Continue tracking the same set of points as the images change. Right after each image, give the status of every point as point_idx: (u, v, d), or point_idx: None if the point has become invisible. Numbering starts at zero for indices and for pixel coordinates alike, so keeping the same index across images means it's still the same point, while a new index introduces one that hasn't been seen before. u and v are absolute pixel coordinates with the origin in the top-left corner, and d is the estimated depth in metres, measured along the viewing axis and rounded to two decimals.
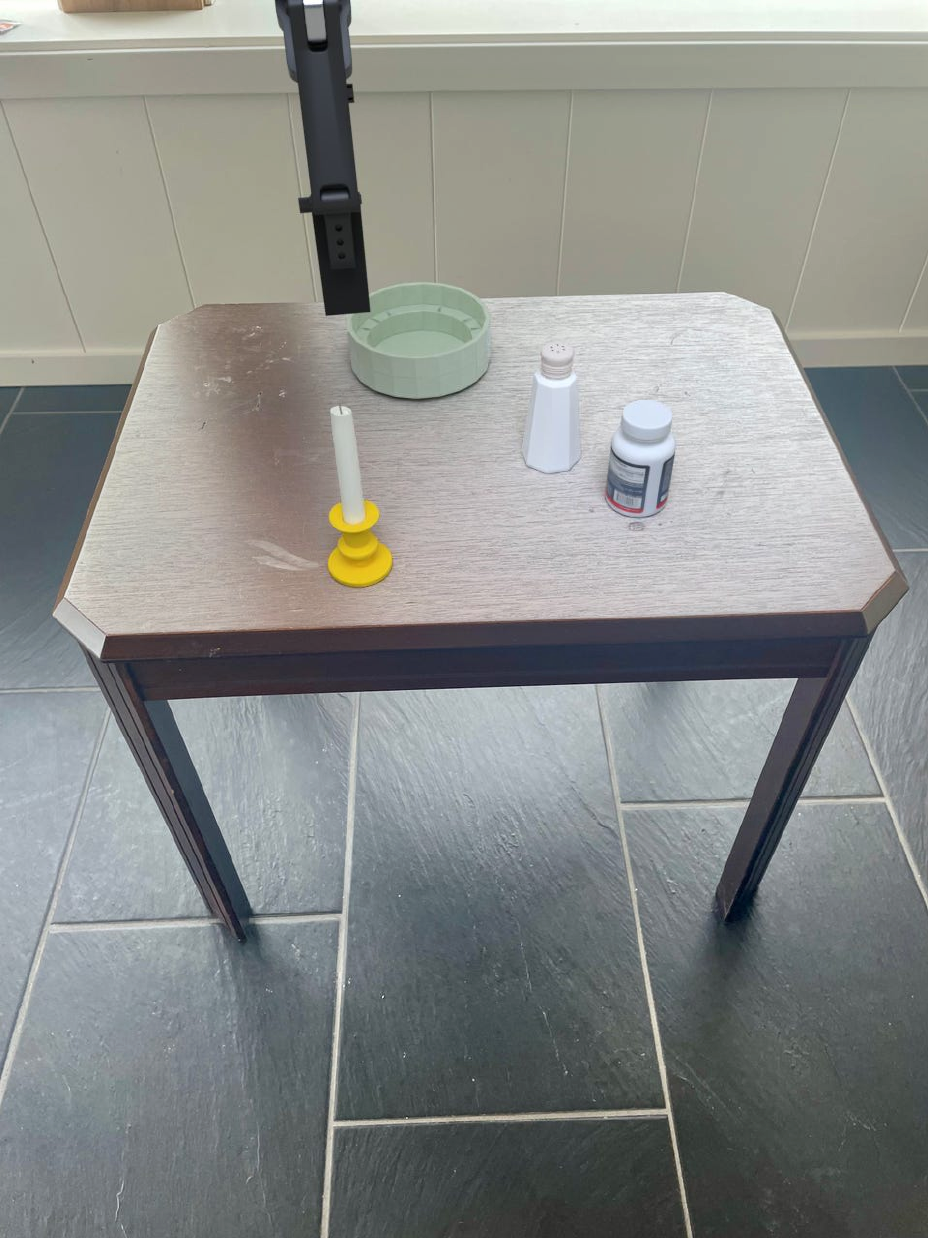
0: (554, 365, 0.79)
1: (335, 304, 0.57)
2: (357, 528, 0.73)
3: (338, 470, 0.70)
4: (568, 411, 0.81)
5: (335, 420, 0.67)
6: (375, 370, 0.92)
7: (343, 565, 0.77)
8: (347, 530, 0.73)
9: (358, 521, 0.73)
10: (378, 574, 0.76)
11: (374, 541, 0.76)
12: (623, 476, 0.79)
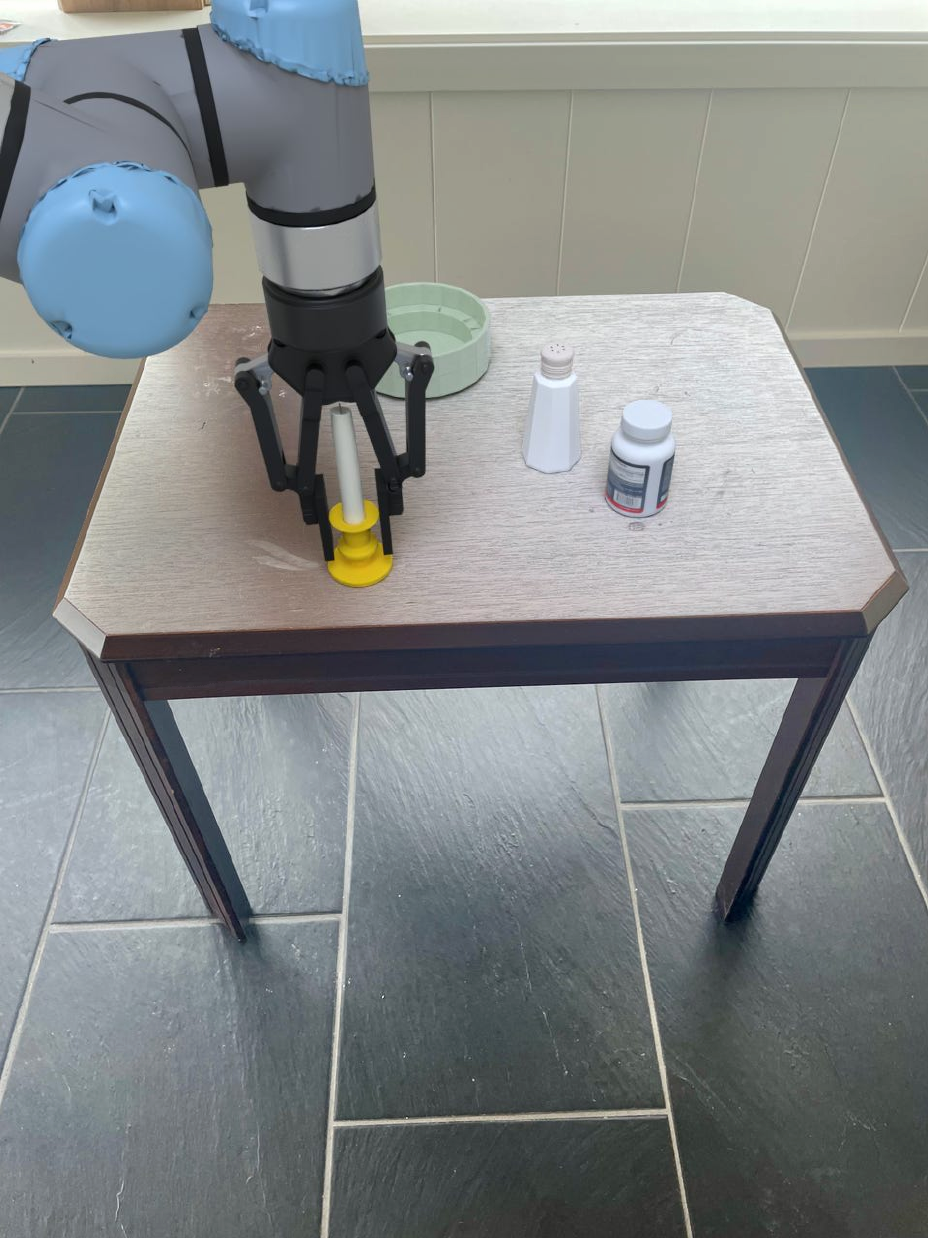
0: (554, 365, 0.79)
1: None
2: (357, 528, 0.73)
3: (338, 470, 0.70)
4: (568, 411, 0.81)
5: (335, 420, 0.67)
6: None
7: (343, 565, 0.77)
8: (347, 530, 0.73)
9: (358, 521, 0.73)
10: (378, 574, 0.76)
11: (374, 541, 0.76)
12: (623, 476, 0.79)
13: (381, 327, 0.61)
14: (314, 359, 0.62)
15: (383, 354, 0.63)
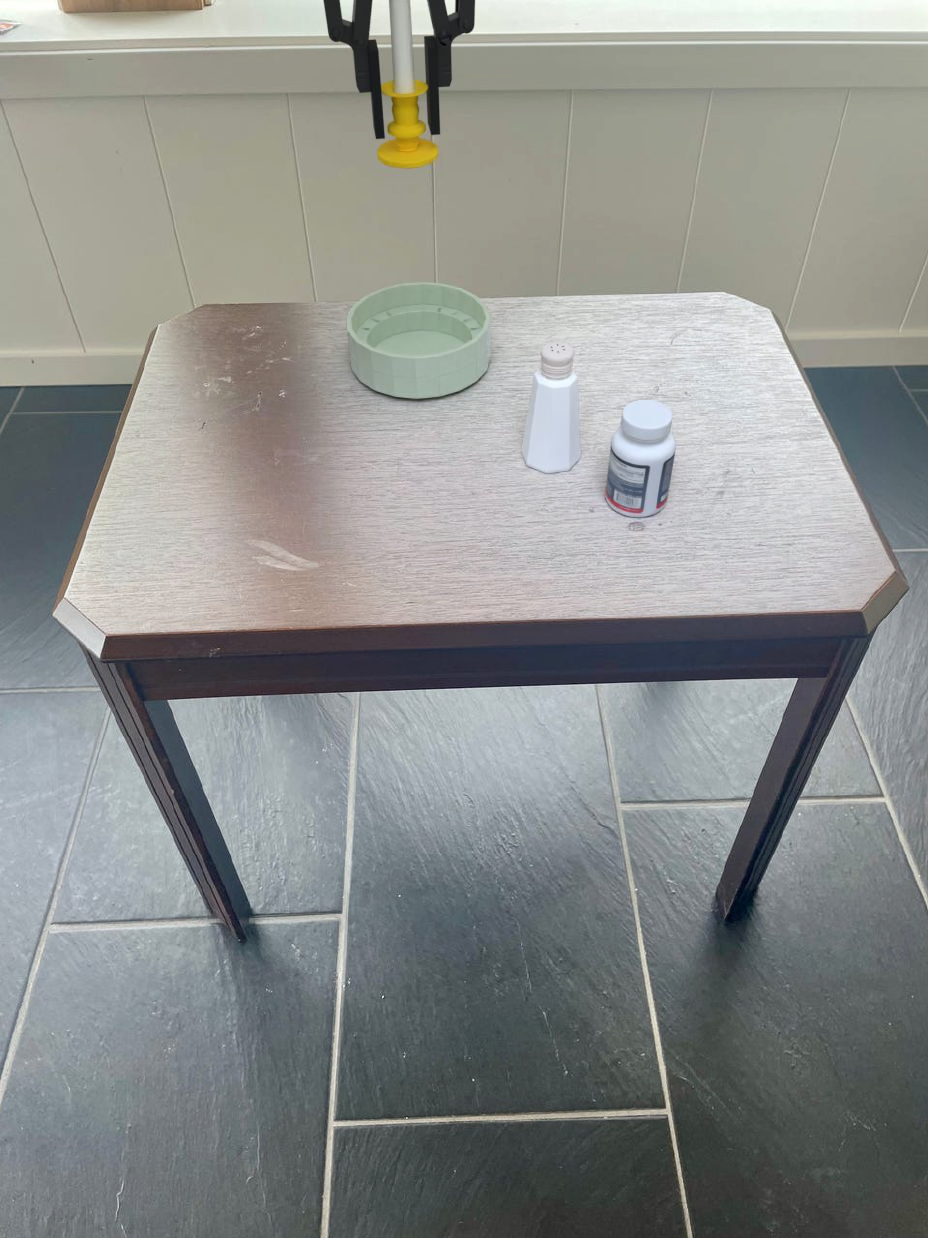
0: (554, 365, 0.79)
1: None
2: (408, 95, 0.77)
3: (391, 23, 0.74)
4: (568, 411, 0.81)
5: None
6: (375, 370, 0.92)
7: (392, 151, 0.81)
8: (398, 95, 0.77)
9: (408, 90, 0.77)
10: (426, 156, 0.80)
11: (422, 123, 0.80)
12: (623, 476, 0.79)
13: None
14: None
15: None
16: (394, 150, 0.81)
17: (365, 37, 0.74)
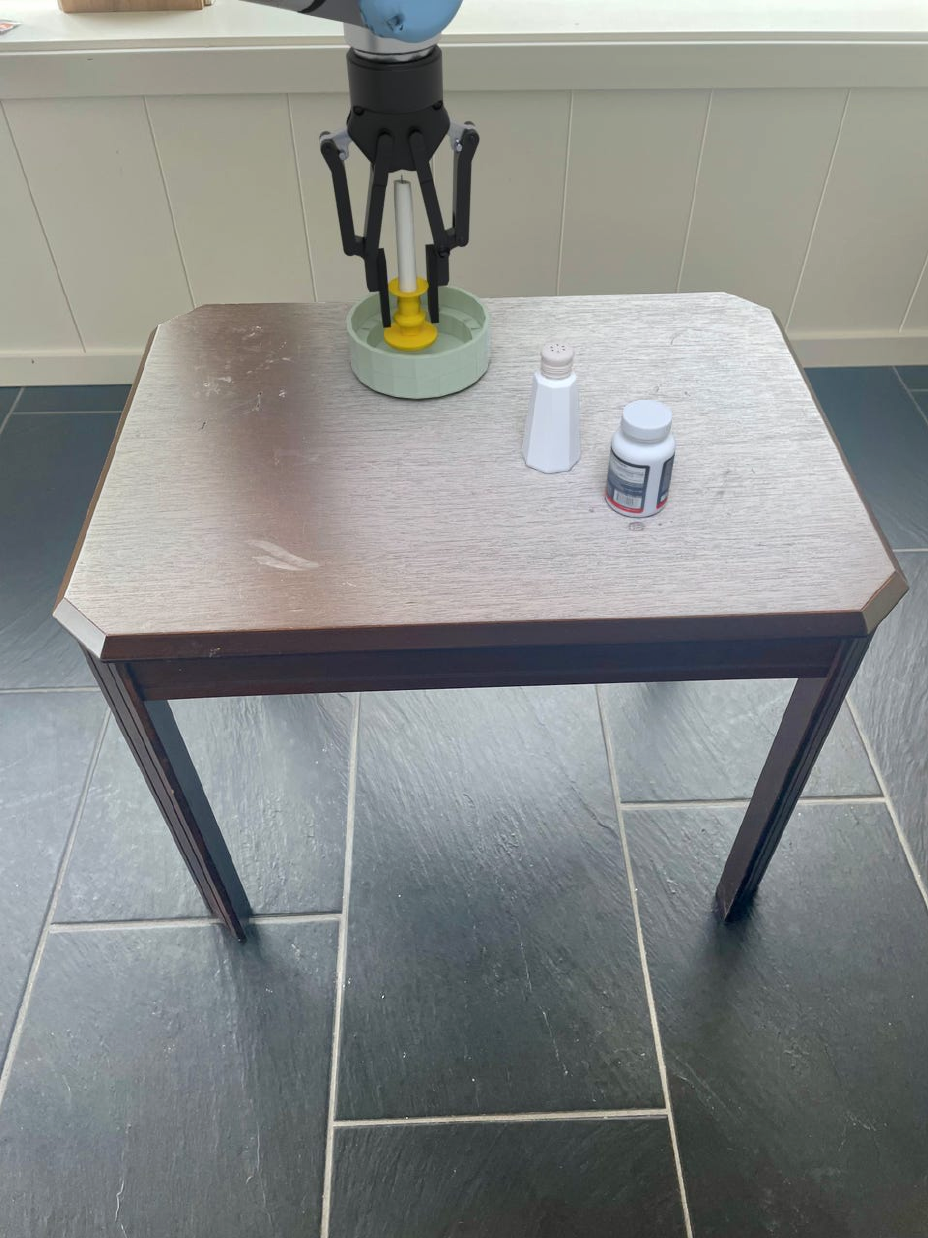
0: (554, 365, 0.79)
1: None
2: (411, 294, 0.89)
3: (397, 239, 0.86)
4: (568, 411, 0.81)
5: (398, 189, 0.83)
6: (375, 370, 0.92)
7: (397, 335, 0.93)
8: (403, 295, 0.89)
9: (411, 289, 0.89)
10: (426, 341, 0.92)
11: (423, 313, 0.92)
12: (623, 476, 0.79)
13: (439, 96, 0.76)
14: (384, 127, 0.78)
15: (439, 125, 0.79)
16: (399, 334, 0.93)
17: (375, 252, 0.86)
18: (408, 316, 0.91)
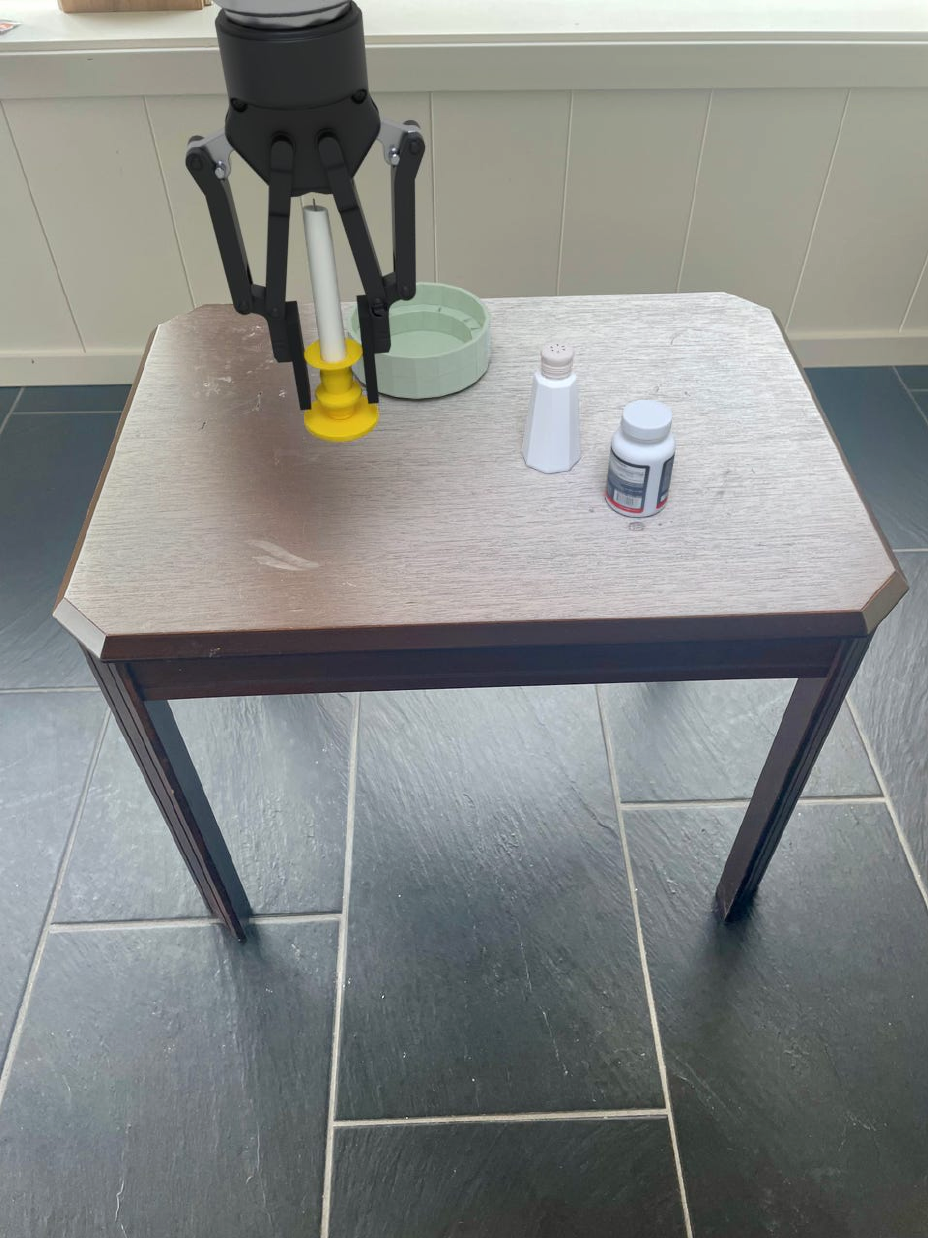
0: (554, 365, 0.79)
1: None
2: (337, 365, 0.63)
3: (313, 290, 0.60)
4: (568, 411, 0.81)
5: (309, 219, 0.56)
6: None
7: (322, 418, 0.67)
8: (325, 367, 0.62)
9: (338, 358, 0.63)
10: (362, 427, 0.66)
11: (357, 388, 0.66)
12: (623, 476, 0.79)
13: (359, 82, 0.50)
14: (280, 130, 0.52)
15: (363, 126, 0.52)
16: (324, 416, 0.67)
17: (280, 309, 0.59)
18: (335, 394, 0.65)
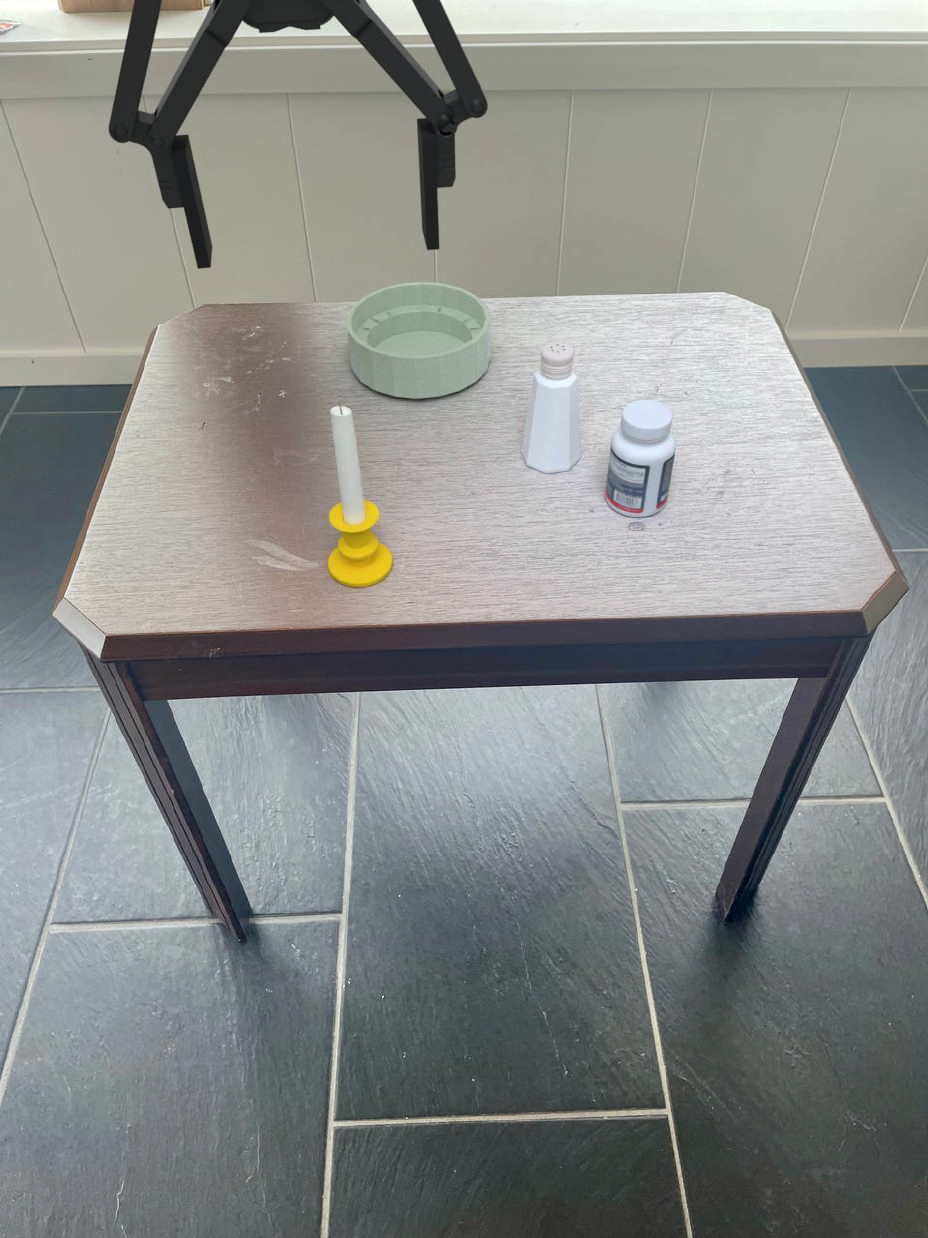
0: (554, 365, 0.79)
1: None
2: (357, 528, 0.73)
3: (338, 470, 0.70)
4: (568, 411, 0.81)
5: (336, 420, 0.67)
6: (375, 370, 0.92)
7: (343, 565, 0.77)
8: (347, 530, 0.73)
9: (358, 521, 0.73)
10: (378, 574, 0.76)
11: (374, 541, 0.76)
12: (623, 476, 0.79)
13: None
14: None
15: None
16: (346, 563, 0.77)
17: (166, 140, 0.51)
18: (355, 548, 0.75)
